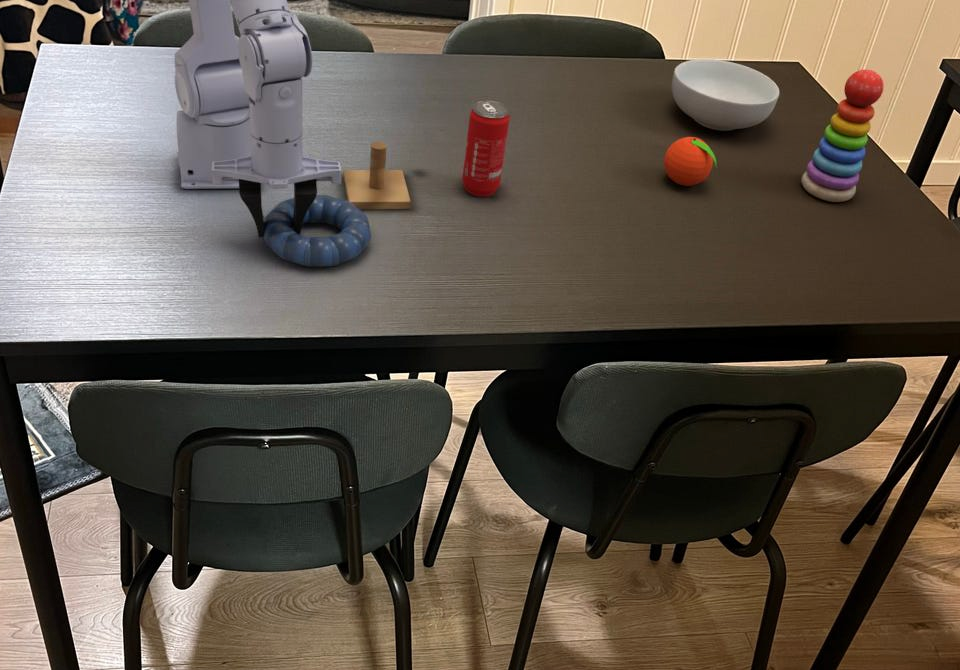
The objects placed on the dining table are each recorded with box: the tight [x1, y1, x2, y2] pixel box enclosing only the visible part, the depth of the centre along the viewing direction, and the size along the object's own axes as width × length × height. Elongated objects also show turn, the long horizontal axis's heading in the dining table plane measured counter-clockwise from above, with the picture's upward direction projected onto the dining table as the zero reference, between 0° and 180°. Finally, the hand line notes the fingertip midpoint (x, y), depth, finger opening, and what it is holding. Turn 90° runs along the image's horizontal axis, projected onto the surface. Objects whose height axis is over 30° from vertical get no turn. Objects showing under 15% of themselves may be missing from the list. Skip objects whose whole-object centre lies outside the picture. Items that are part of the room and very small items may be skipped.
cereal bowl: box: [671, 58, 780, 132], centre depth 155 cm, size 17×17×7 cm
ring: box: [263, 194, 372, 268], centre depth 117 cm, size 13×13×3 cm
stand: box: [342, 141, 411, 211], centre depth 126 cm, size 8×8×7 cm
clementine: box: [663, 136, 717, 187], centre depth 138 cm, size 8×7×7 cm
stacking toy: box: [801, 69, 884, 203], centre depth 137 cm, size 8×8×19 cm
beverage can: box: [461, 100, 511, 198], centre depth 128 cm, size 5×5×12 cm
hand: (278, 232), depth 116 cm, fingers closed on ring, 3 cm apart
